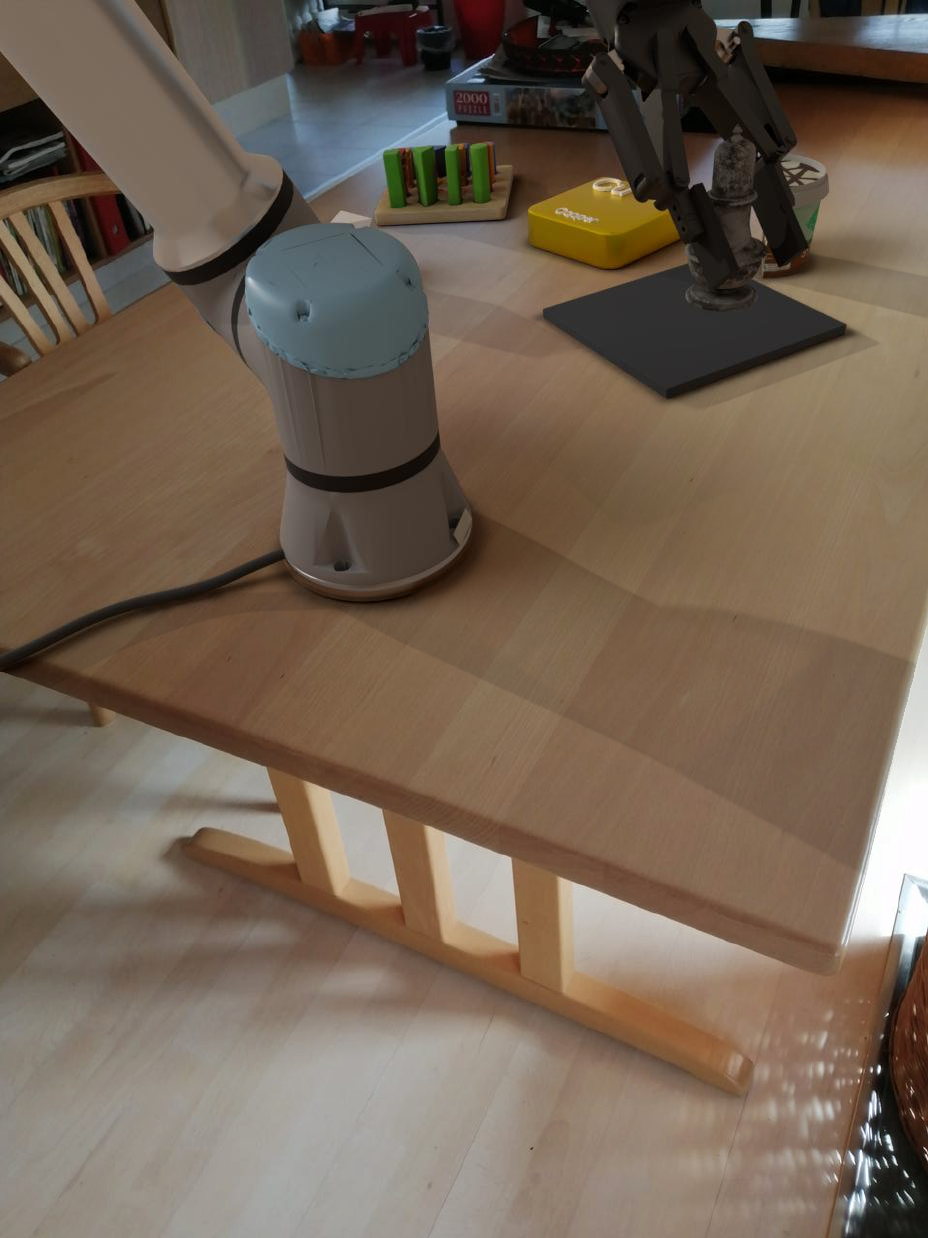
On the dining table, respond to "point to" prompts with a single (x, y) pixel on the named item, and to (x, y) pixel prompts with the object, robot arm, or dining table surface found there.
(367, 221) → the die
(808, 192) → the food container
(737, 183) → the salt shaker
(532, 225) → the element tile
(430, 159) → the peg board
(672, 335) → the mat
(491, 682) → the dining table surface
